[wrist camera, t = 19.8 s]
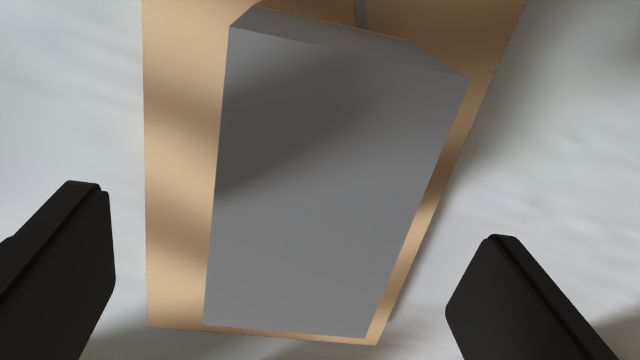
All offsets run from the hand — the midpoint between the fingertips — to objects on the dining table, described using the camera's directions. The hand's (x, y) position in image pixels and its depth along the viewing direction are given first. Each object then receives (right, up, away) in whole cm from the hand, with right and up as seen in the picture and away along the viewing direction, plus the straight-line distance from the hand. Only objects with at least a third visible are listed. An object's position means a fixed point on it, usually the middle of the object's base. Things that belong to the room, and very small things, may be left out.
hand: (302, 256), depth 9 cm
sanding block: (0, +4, +7) cm, 8 cm away
